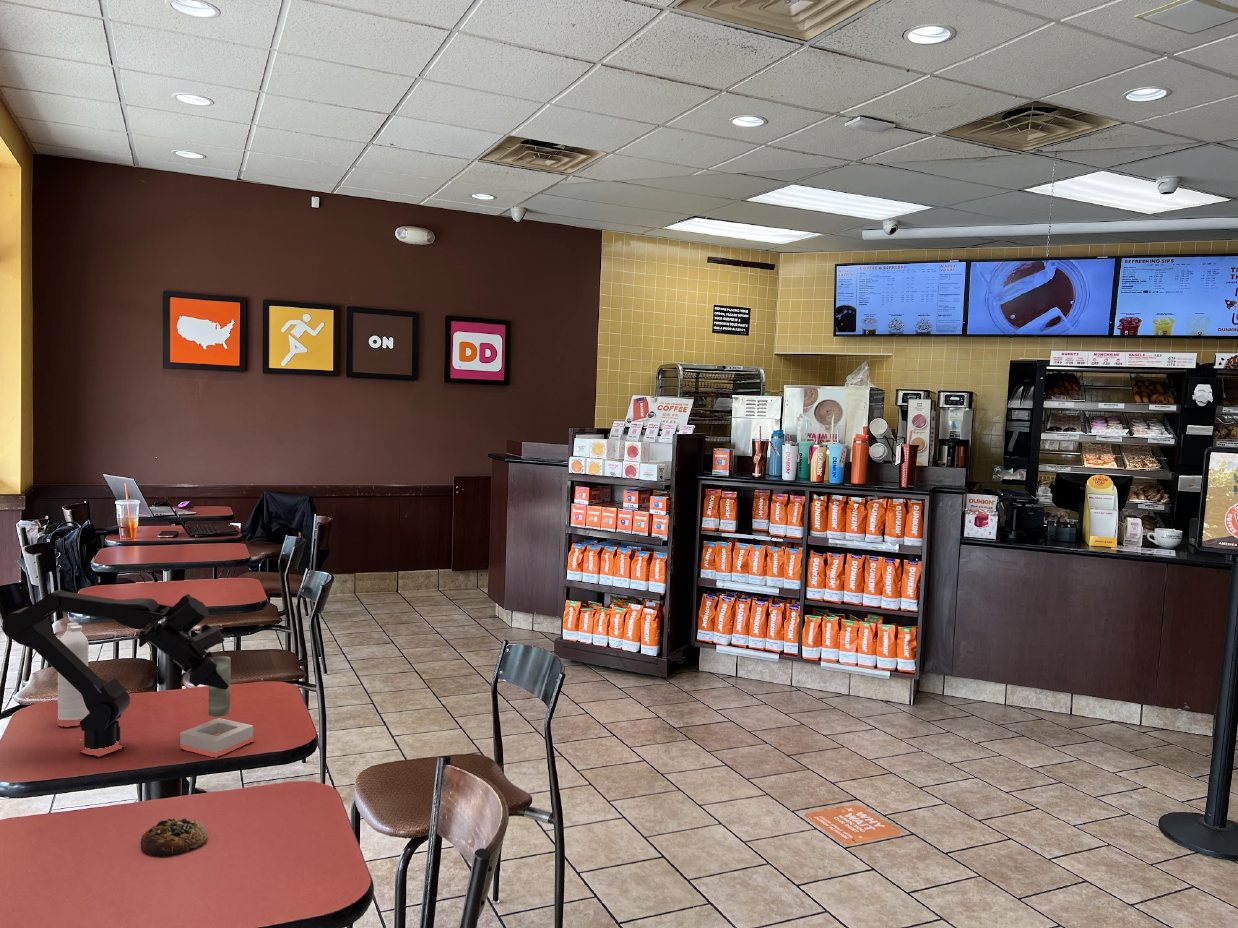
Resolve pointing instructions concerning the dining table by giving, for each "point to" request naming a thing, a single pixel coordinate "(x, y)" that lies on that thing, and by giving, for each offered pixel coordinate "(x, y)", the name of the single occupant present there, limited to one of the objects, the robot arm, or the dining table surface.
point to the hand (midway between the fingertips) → (225, 684)
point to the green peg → (217, 696)
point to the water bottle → (68, 696)
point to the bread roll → (173, 837)
